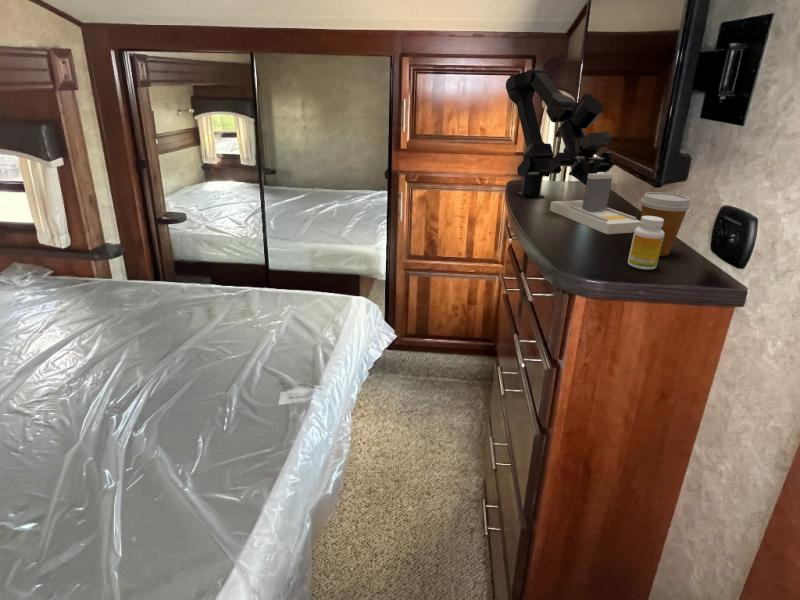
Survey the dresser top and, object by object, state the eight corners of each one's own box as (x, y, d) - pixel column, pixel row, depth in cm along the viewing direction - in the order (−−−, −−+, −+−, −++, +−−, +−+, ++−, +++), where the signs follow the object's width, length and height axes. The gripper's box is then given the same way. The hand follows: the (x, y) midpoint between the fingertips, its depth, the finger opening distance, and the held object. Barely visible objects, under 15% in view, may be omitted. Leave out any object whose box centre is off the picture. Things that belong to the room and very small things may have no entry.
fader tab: (582, 208, 135) (588, 173, 131) (601, 207, 137) (607, 173, 133) (586, 210, 133) (593, 175, 129) (606, 209, 135) (613, 174, 131)
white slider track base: (549, 210, 145) (551, 199, 144) (579, 208, 148) (581, 198, 147) (607, 234, 124) (609, 221, 123) (640, 231, 127) (643, 219, 126)
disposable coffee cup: (621, 248, 114) (633, 194, 109) (645, 242, 119) (657, 190, 114) (663, 261, 107) (677, 203, 102) (686, 253, 112) (701, 198, 107)
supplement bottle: (659, 271, 101) (671, 222, 97) (630, 268, 102) (641, 220, 98) (652, 262, 106) (664, 215, 102) (624, 260, 107) (635, 213, 103)
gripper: (561, 119, 129) (581, 171, 124) (622, 119, 135) (644, 170, 130) (539, 147, 139) (557, 197, 134) (597, 147, 145) (616, 195, 140)
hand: (594, 189), depth 134 cm, fingers closed, pressing on fader tab
